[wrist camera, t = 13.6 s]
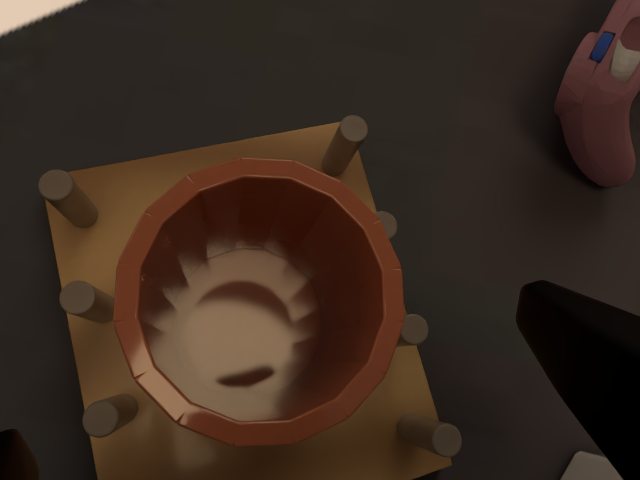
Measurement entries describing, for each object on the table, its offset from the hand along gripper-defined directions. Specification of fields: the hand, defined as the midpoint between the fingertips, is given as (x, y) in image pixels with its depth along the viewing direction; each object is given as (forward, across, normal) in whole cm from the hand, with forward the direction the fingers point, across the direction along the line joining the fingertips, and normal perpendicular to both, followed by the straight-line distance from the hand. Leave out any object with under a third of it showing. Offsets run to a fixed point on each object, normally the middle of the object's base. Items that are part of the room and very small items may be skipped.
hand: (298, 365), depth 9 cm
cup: (+8, 0, +6) cm, 11 cm away
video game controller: (+14, -19, +2) cm, 24 cm away
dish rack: (+9, 0, +7) cm, 12 cm away
